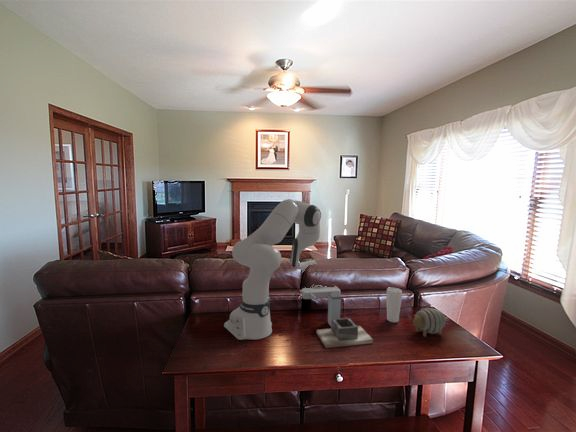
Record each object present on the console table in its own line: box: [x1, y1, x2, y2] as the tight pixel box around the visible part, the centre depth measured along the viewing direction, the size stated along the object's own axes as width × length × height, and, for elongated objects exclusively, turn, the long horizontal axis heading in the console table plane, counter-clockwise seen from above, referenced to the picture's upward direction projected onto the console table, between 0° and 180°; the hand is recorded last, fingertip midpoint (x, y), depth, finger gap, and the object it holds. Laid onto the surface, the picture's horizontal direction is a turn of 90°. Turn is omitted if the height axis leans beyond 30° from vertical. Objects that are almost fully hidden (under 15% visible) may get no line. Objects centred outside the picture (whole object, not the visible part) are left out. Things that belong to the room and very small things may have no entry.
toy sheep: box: [412, 307, 450, 338], centre depth 127 cm, size 11×17×11 cm, turn 107°
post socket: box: [316, 317, 374, 349], centre depth 122 cm, size 12×20×6 cm, turn 102°
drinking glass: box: [385, 287, 403, 323], centre depth 138 cm, size 7×7×15 cm
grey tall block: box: [327, 293, 342, 328], centre depth 134 cm, size 5×4×14 cm
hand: (325, 298), depth 145 cm, fingers open, 8 cm apart
